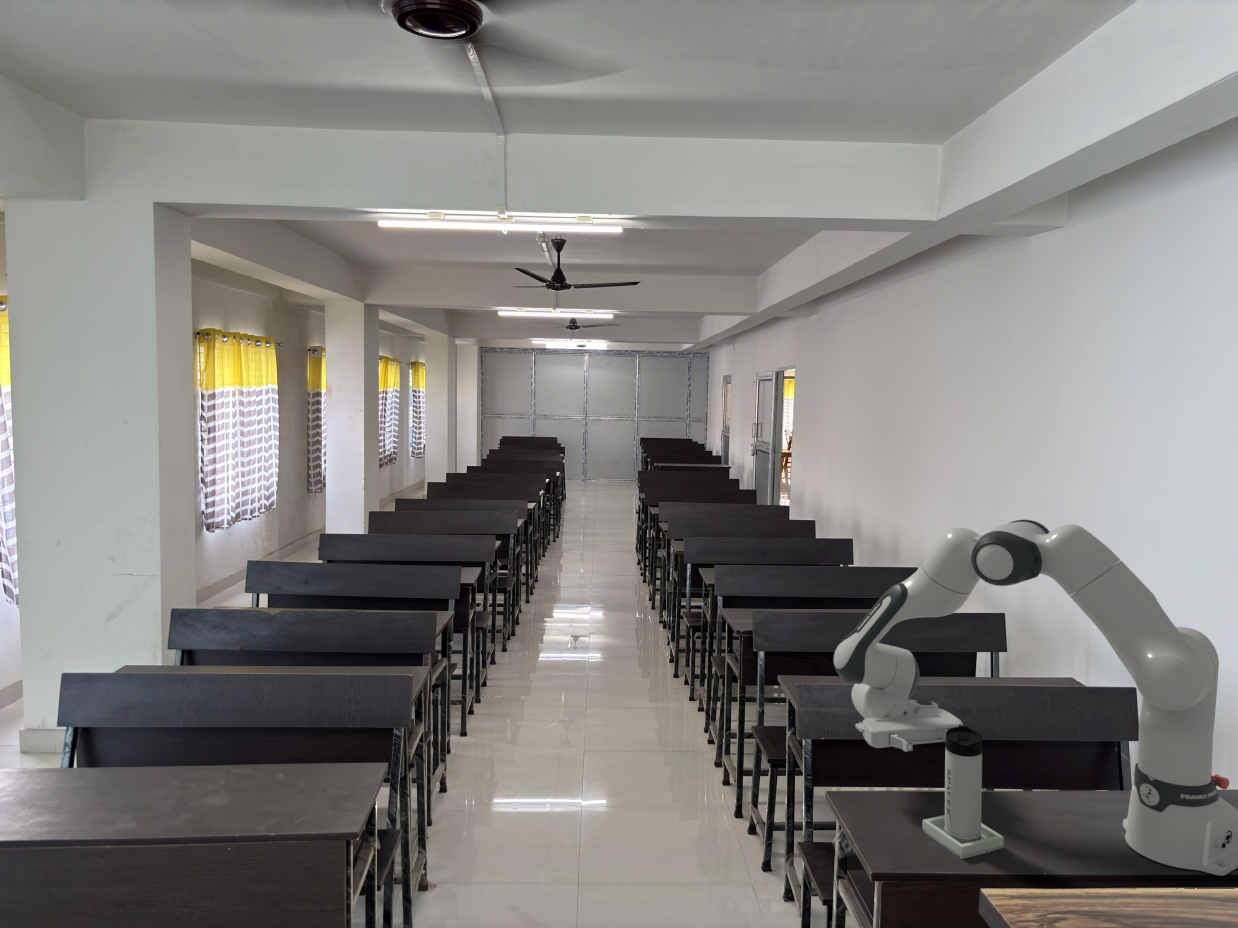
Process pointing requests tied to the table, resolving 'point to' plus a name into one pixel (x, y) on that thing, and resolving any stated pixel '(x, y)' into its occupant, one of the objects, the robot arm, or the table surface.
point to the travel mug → (963, 784)
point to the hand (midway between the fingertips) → (931, 745)
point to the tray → (937, 832)
